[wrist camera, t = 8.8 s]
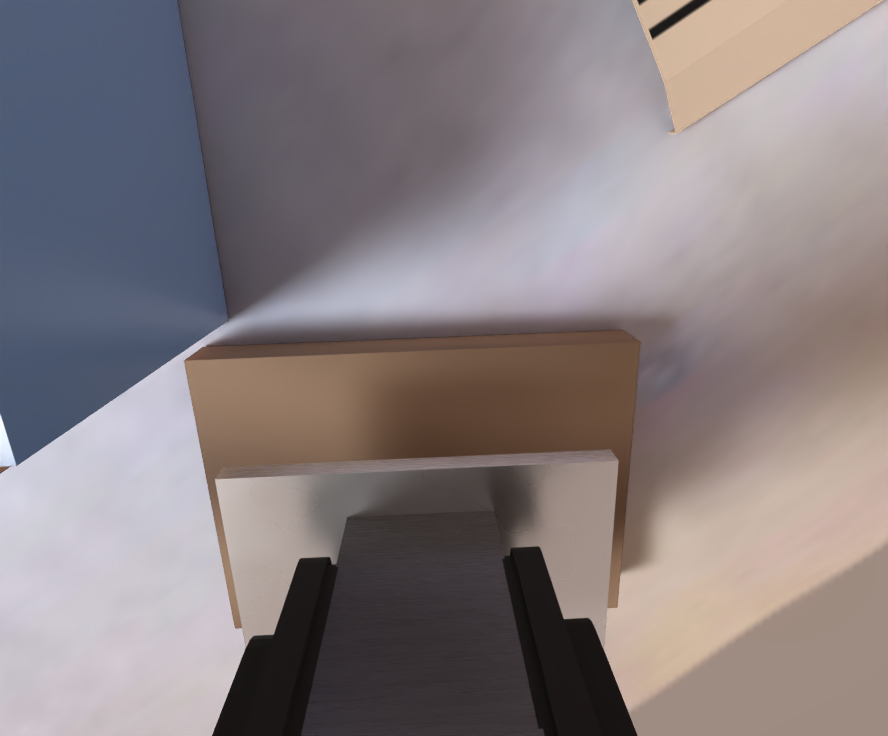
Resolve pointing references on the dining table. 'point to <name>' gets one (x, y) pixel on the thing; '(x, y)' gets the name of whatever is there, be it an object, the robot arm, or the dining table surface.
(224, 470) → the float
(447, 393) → the board
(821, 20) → the newspaper
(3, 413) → the tile
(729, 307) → the dining table surface
